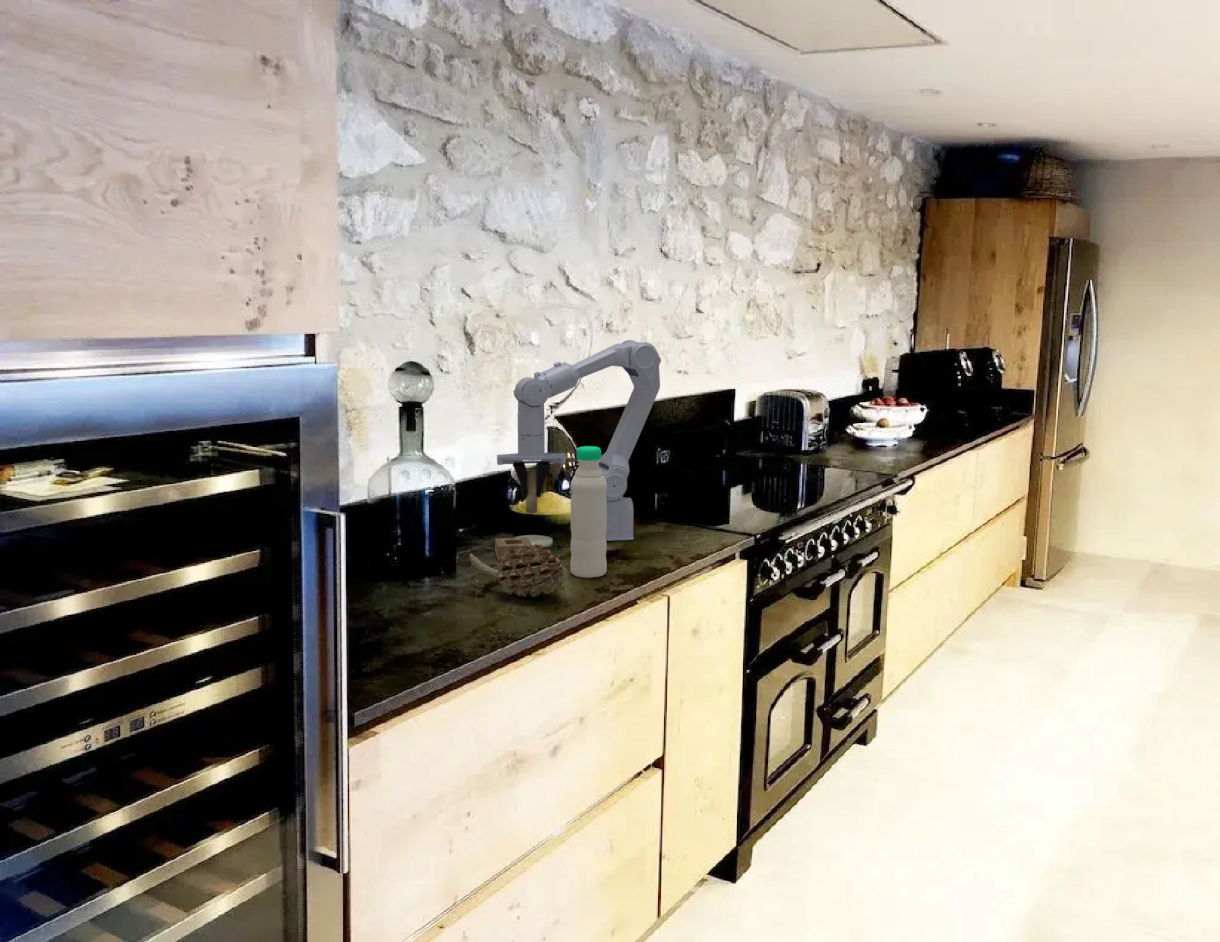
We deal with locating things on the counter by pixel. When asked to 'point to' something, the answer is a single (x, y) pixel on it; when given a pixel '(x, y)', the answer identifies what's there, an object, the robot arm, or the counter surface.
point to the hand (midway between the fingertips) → (531, 496)
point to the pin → (531, 491)
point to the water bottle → (588, 515)
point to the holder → (509, 545)
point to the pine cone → (526, 570)
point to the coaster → (538, 540)
